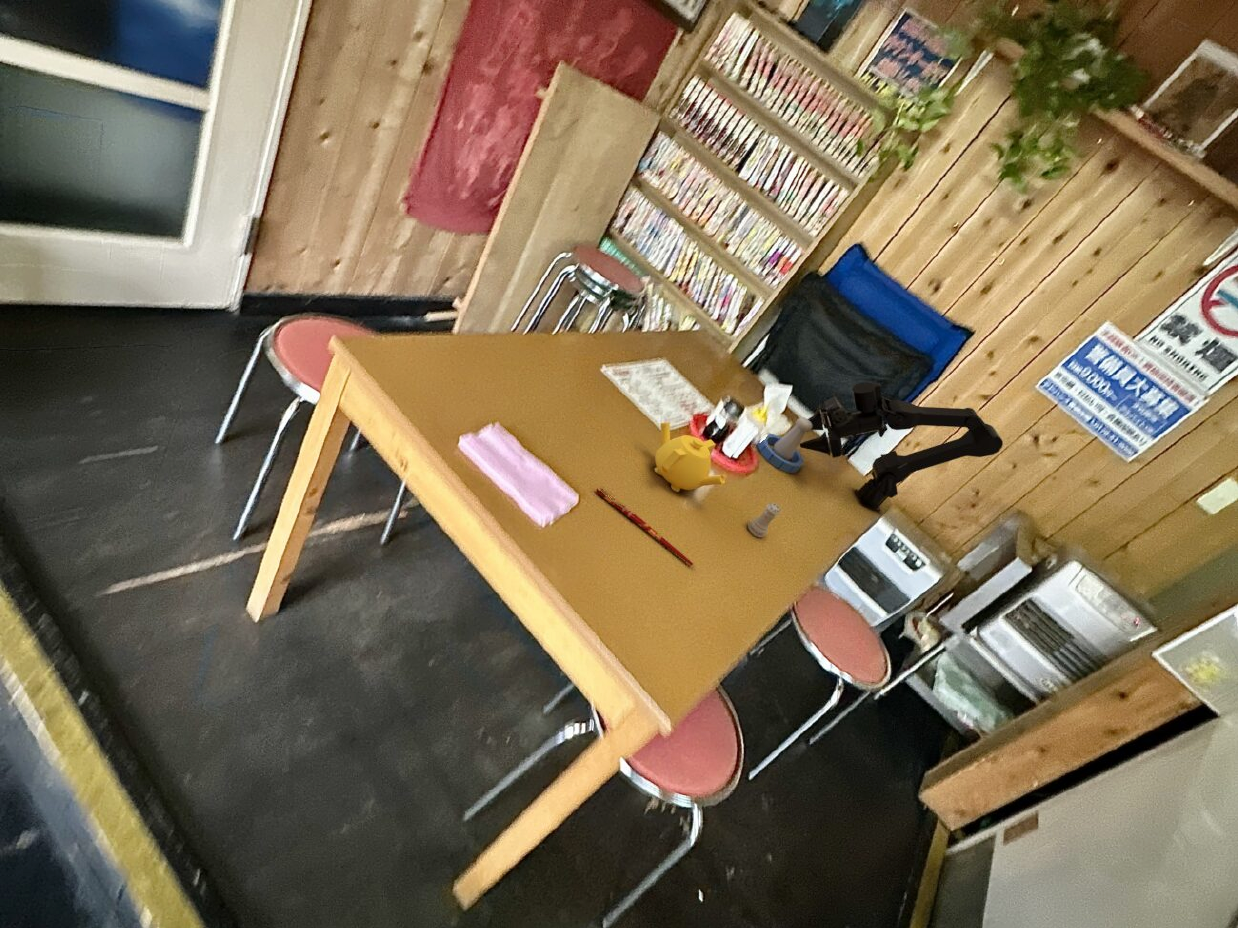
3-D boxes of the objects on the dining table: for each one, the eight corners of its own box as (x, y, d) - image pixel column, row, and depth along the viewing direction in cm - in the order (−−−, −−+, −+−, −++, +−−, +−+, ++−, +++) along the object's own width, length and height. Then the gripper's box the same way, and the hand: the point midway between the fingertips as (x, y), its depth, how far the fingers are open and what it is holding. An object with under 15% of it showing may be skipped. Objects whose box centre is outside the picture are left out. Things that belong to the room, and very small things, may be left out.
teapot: (724, 499, 171) (751, 464, 166) (682, 517, 158) (710, 480, 152) (666, 442, 179) (689, 406, 173) (621, 454, 165) (645, 416, 159)
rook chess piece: (753, 538, 165) (774, 513, 161) (743, 523, 168) (763, 498, 163) (767, 538, 168) (787, 514, 164) (756, 523, 170) (776, 499, 166)
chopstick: (690, 567, 145) (692, 564, 145) (595, 491, 149) (597, 488, 149) (693, 563, 147) (696, 560, 146) (599, 488, 151) (601, 484, 150)
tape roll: (791, 450, 210) (796, 443, 208) (803, 478, 200) (808, 472, 198) (753, 434, 205) (758, 427, 204) (763, 463, 195) (769, 456, 194)
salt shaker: (781, 465, 199) (810, 429, 192) (766, 451, 201) (794, 414, 195) (791, 462, 204) (819, 426, 197) (776, 448, 206) (804, 412, 199)
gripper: (847, 380, 199) (788, 394, 202) (860, 415, 183) (796, 429, 187) (853, 415, 204) (796, 428, 208) (866, 452, 189) (804, 465, 192)
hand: (797, 436), depth 198 cm, fingers open, 9 cm apart
